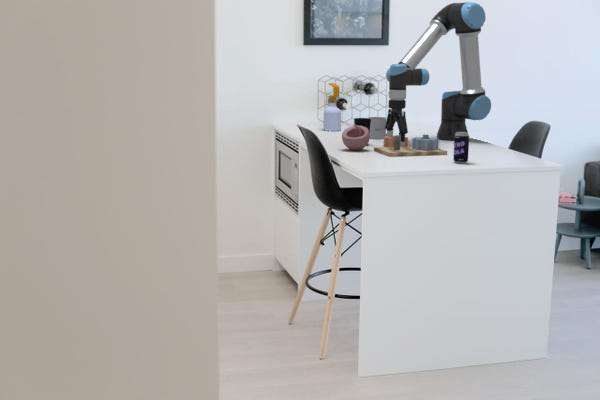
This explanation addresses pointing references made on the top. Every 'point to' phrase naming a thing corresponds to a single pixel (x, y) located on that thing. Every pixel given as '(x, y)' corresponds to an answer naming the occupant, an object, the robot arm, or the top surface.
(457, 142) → the beverage can
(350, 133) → the mortar and pestle
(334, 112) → the soap bottle
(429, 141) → the seated gear
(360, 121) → the cup
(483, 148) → the top surface
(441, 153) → the gear board
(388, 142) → the loose gear
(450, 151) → the top surface
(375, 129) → the mug
